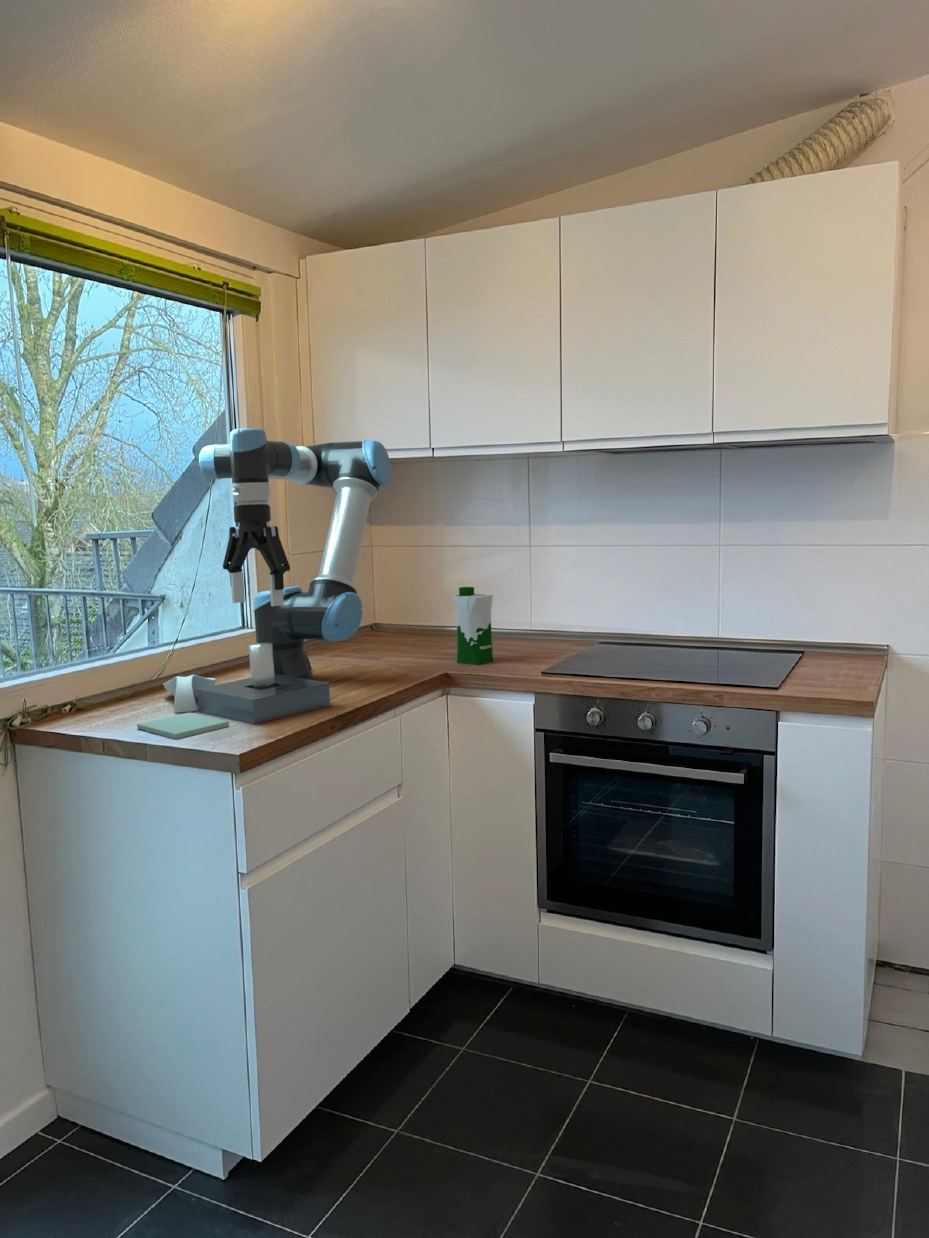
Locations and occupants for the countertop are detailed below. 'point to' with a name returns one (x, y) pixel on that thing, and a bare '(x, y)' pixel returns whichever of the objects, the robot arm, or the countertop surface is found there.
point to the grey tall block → (261, 665)
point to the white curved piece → (186, 691)
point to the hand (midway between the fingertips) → (257, 604)
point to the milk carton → (473, 627)
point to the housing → (263, 699)
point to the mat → (183, 725)
